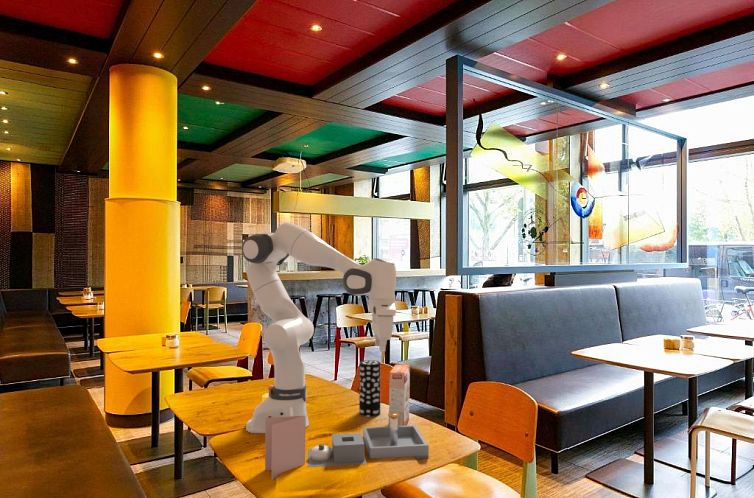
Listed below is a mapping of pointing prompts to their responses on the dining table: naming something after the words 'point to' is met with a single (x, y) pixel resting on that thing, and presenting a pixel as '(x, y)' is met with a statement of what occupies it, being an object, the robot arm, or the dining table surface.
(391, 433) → the lock pin
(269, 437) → the greeting card
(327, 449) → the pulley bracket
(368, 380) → the white-spotted black cylinder
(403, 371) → the cracker box
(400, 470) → the dining table surface
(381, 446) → the tray
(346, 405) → the dining table surface
